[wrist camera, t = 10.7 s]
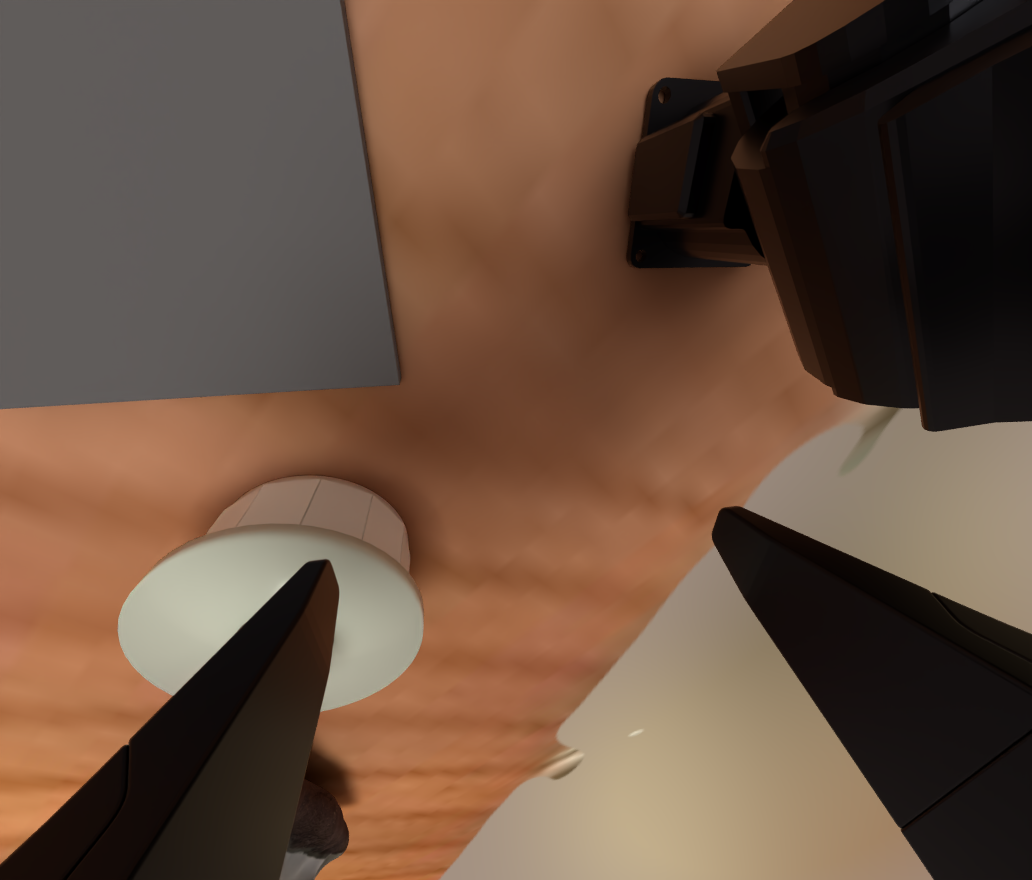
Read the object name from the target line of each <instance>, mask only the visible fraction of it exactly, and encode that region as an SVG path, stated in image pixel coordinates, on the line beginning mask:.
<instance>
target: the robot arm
mask: <svg viewBox="0 0 1032 880" xmlns="http://www.w3.org/2000/svg"><path fill="white" fill-rule="evenodd" d="M716 72H717V75H718V78H719V81H707V80H694V79H680V78H663V79H661V80H659V81H658V82H657V83H655V84H654V85H653V86H652V87H651V89H650V91H649V94H648V97H647V105H646V112H645V120H644V128H643V135H642V140H641V141H640V142H639V143H638V144H637V147H636V155H635V163H634V171H633V179H632V186H631V194H630V202H629V210H628V215H629V217H630V219H631V227H630V234H629V242H628V250H627V262H628V264H629V265H630V266H631V267H636V268H684V267H746V266H750V265H751V264H757V265H767V266H768V268H769V271H770V274H771V277H772V280H773V283H774V286H775V289H776V292H777V294H778V297H779V300H780V303H781V306H782V309H783V312H784V315H785V318H786V321H787V324H788V327H789V329H790V332H791V335H792V338H793V341H794V344H795V347H796V350H797V353H798V355H799V357H800V360H801V362H802V364H803V367H804V369H805V370H806V371H807V372H809V373H810V374H811V375H813V376H814V377H816V378H817V379H818V380H820V381H821V382H822V383H824V384H825V385H827V386H830V387H832V390H833V393H834V395H836V396H837V397H840V398H844V399H847V400H851V401H854V402H858V403H862V404H867V405H876V406H886V407H896V408H919V409H920V416H921V422H922V427H923V428H924V429H925V430H928V431H933V432H934V431H935V432H936V431H943V430H950V429H956V428H963V427H968V426H975V425H981V424H988V423H994V422H1018V421H1019V422H1022V421H1032V0H793V1H792V2H791V3H790V4H789V5H788V6H787V7H786V8H784V9H783V10H782V11H781V12H780V13H779V14H778V15H777V16H776V17H775V18H773V19H772V20H771V21H770V22H769V23H768V24H767V25H766V26H765V27H764V28H762V29H761V30H760V31H759V32H758V33H757V34H756V35H755V36H754V37H753V38H752V39H750V40H749V41H748V42H747V43H746V44H745V45H744V46H743V47H742V48H741V49H739V50H738V51H737V52H736V53H735V54H734V55H733V56H732V57H731V58H730V59H728V60H727V61H726V62H725V63H724V64H723V65H722V66H721V67H720V68H719V69H718V70H717V71H716ZM660 90H663V91H664V93H665V102H664V104H662V103H660V101H659V97H658V94H659V91H660ZM639 250H641V252H642V257H641V259H640V260H639V261H637V260H636V254H637V252H638V251H639ZM712 540H713V543H714V545H715V546H716V548H717V550H718V552H719V554H720V555H721V557H722V559H723V561H724V563H725V564H726V566H727V568H728V570H729V572H730V574H731V575H732V577H733V579H734V581H735V583H736V585H737V586H738V588H739V590H740V592H741V593H742V595H743V597H744V598H745V600H746V602H747V603H748V605H749V606H750V608H751V610H752V611H753V612H754V614H755V615H756V617H757V618H758V620H759V621H760V623H761V624H762V626H763V627H764V629H765V630H766V632H767V633H768V635H769V636H770V638H771V639H772V641H773V642H774V643H775V645H776V647H777V648H778V649H779V651H780V652H781V654H782V655H783V657H784V658H785V660H786V661H787V663H788V664H789V666H790V667H791V669H792V670H793V671H794V673H795V675H796V676H797V678H798V679H799V681H800V682H801V683H802V685H803V686H804V688H805V689H806V691H807V692H808V694H809V695H810V697H811V698H812V700H813V701H814V703H815V704H816V706H817V707H818V709H819V710H820V712H821V713H822V714H823V716H824V717H825V719H826V720H827V722H828V723H829V725H830V726H831V728H832V729H833V730H834V732H835V734H836V735H837V737H838V738H839V739H840V741H841V743H842V744H843V746H844V747H845V748H846V750H847V752H848V753H849V754H850V756H851V757H852V759H853V760H854V762H855V763H856V765H857V766H858V768H859V769H860V771H861V772H862V774H863V775H864V777H865V778H866V780H867V781H868V783H869V784H870V786H871V787H872V788H873V790H874V791H875V793H876V794H877V796H878V797H879V799H880V800H881V802H882V803H883V805H884V806H885V808H886V809H887V811H888V812H889V814H890V815H891V817H892V818H893V820H894V821H895V823H896V824H897V825H898V827H900V828H901V832H902V833H903V835H904V836H905V838H906V839H907V841H908V842H909V844H910V845H911V847H912V848H913V850H914V851H915V853H916V854H917V855H918V857H919V859H920V860H921V862H922V863H923V864H924V866H925V867H926V869H927V870H928V872H929V873H930V875H931V876H932V878H933V879H934V880H1032V634H1030V633H1028V632H1025V631H1023V630H1021V629H1018V628H1016V627H1013V626H1010V625H1008V624H1006V623H1003V622H1001V621H998V620H996V619H994V618H992V617H989V616H987V615H985V614H982V613H980V612H978V611H975V610H973V609H971V608H968V607H966V606H963V605H961V604H959V603H957V602H955V601H952V600H950V599H948V598H946V597H943V596H941V595H938V594H936V593H933V592H932V593H931V592H930V591H929V590H927V589H925V588H923V587H921V586H918V585H916V584H914V583H912V582H909V581H907V580H905V579H902V578H900V577H898V576H895V575H894V574H891V573H889V572H887V571H884V570H882V569H880V568H878V567H875V566H873V565H871V564H869V563H866V562H864V561H862V560H860V559H857V558H855V557H853V556H851V555H848V554H846V553H844V552H842V551H839V550H837V549H835V548H832V547H830V546H828V545H826V544H823V543H821V542H819V541H817V540H814V539H812V538H810V537H808V536H806V535H803V534H801V533H799V532H796V531H794V530H792V529H790V528H787V527H785V526H783V525H781V524H778V523H776V522H774V521H772V520H769V519H767V518H765V517H763V516H760V515H758V514H756V513H754V512H751V511H749V510H747V509H745V508H742V507H739V506H732V507H725V508H722V509H721V510H720V511H719V513H718V516H717V519H716V522H715V525H714V528H713V531H712ZM338 604H339V585H338V582H337V579H336V576H335V573H334V570H333V566H332V564H331V562H330V560H328V559H321V560H313V561H309V562H307V563H305V564H304V565H303V566H302V567H301V568H300V569H299V570H298V571H297V572H296V573H295V574H294V575H293V576H292V577H291V578H290V579H289V580H288V581H287V582H286V583H285V584H284V585H283V586H282V587H281V588H280V589H279V590H278V591H277V592H276V593H275V594H274V595H273V596H272V597H271V598H270V599H269V600H268V601H267V602H266V603H265V604H264V605H263V606H262V607H261V608H260V609H259V610H258V611H257V612H256V613H255V614H254V615H253V616H252V617H251V618H250V619H249V620H248V621H247V622H246V623H245V624H244V625H243V626H242V627H241V628H240V629H239V630H238V631H237V632H236V633H235V634H234V635H233V636H232V637H231V638H230V639H229V640H228V641H227V642H226V643H225V644H224V645H223V646H222V647H221V648H220V649H219V650H218V651H217V652H216V653H215V654H214V655H213V656H212V657H211V658H210V659H209V660H208V661H207V662H206V663H205V664H204V665H203V666H202V667H201V668H200V669H199V670H198V671H197V672H196V673H195V674H194V675H193V676H192V677H191V678H190V679H189V680H188V681H187V682H186V683H185V684H184V685H183V686H182V687H181V688H180V689H179V690H178V691H177V692H176V693H175V694H174V695H173V696H172V697H171V698H170V699H169V700H168V701H167V702H166V703H165V704H164V705H163V706H162V707H161V708H160V709H159V710H158V711H157V712H156V713H155V714H154V715H153V716H152V717H151V718H150V719H149V720H148V721H147V722H146V723H145V725H144V726H143V727H142V728H141V729H140V730H139V731H138V732H137V733H136V734H135V735H134V736H133V737H132V738H131V739H130V740H129V745H124V746H122V747H121V748H120V749H119V750H118V751H117V752H116V753H115V754H114V755H113V756H112V757H111V758H110V759H109V760H108V761H107V762H106V763H105V764H104V765H103V766H102V767H101V768H100V769H99V770H98V771H97V772H96V773H95V774H94V775H93V776H92V777H91V778H90V779H89V780H88V781H87V782H86V783H85V784H84V785H83V786H82V787H81V788H80V789H79V790H78V791H77V792H76V793H75V794H74V795H73V796H72V797H71V798H70V799H69V800H68V801H67V802H66V803H65V804H64V805H63V806H62V807H61V808H60V809H59V810H58V811H57V812H56V813H54V814H53V815H52V816H51V817H50V818H49V819H48V820H47V821H46V822H45V823H44V824H43V825H42V826H41V827H40V828H39V829H38V830H37V831H36V832H35V833H33V834H32V835H31V836H30V837H29V838H28V839H27V840H26V841H25V842H24V843H23V844H22V845H21V846H19V847H18V848H17V849H16V850H15V851H14V852H13V853H12V854H11V855H10V856H9V857H8V858H7V859H6V860H4V861H3V862H2V863H1V864H0V880H280V876H281V872H282V867H283V863H284V859H285V855H286V851H287V847H288V843H289V839H290V834H291V830H292V826H293V822H294V818H295V814H296V810H297V805H298V801H299V797H300V793H301V789H302V785H303V781H304V777H305V772H306V768H307V764H308V760H309V756H310V752H311V748H312V744H313V739H314V735H315V731H316V727H317V723H318V719H319V715H320V710H321V706H322V702H323V698H324V694H325V690H326V686H327V681H328V676H329V672H330V665H331V658H332V650H333V642H334V635H335V627H336V619H337V611H338Z"/></svg>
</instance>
